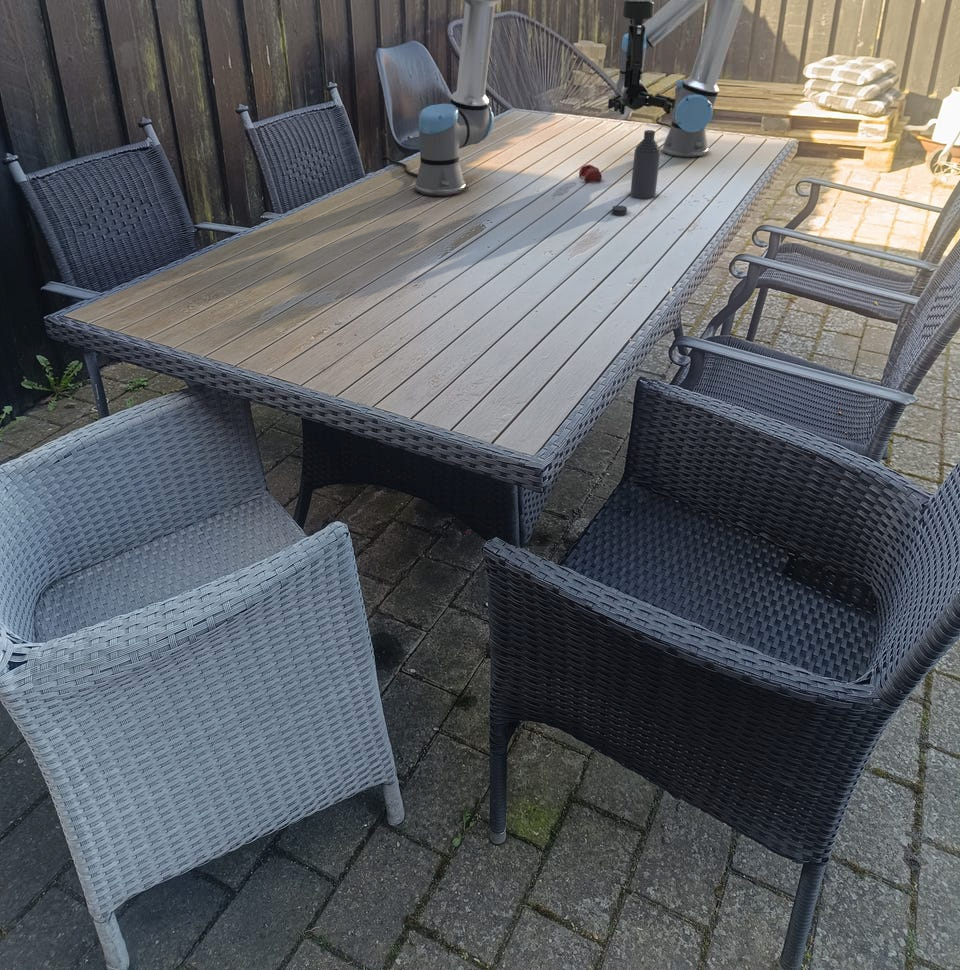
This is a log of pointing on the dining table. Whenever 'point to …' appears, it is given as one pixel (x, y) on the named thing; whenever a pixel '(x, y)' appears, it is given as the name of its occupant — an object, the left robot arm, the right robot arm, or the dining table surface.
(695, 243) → the dining table surface
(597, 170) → the dental model
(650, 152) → the bottle
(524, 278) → the dining table surface
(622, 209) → the cap
